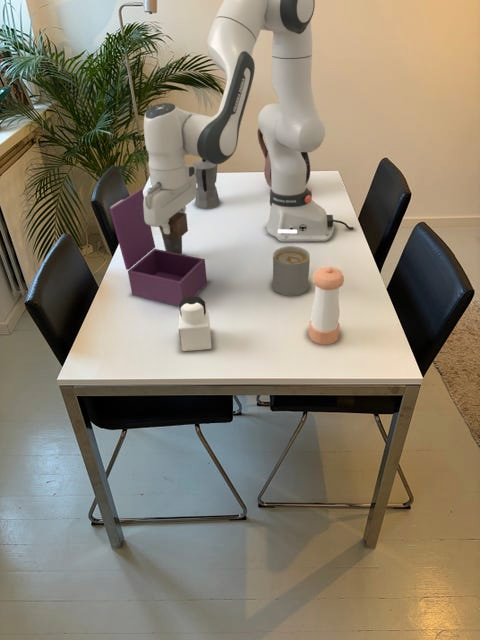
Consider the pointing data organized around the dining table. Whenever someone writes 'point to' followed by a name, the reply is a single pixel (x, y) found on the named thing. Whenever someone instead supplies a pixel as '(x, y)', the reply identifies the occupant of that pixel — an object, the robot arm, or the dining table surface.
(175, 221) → the block
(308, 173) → the ceramic pitcher
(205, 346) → the bust figurine
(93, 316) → the dining table surface
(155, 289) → the box
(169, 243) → the beverage cup
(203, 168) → the coffeepot
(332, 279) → the salt shaker
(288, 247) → the coffee mug
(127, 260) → the box file lid
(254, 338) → the dining table surface
